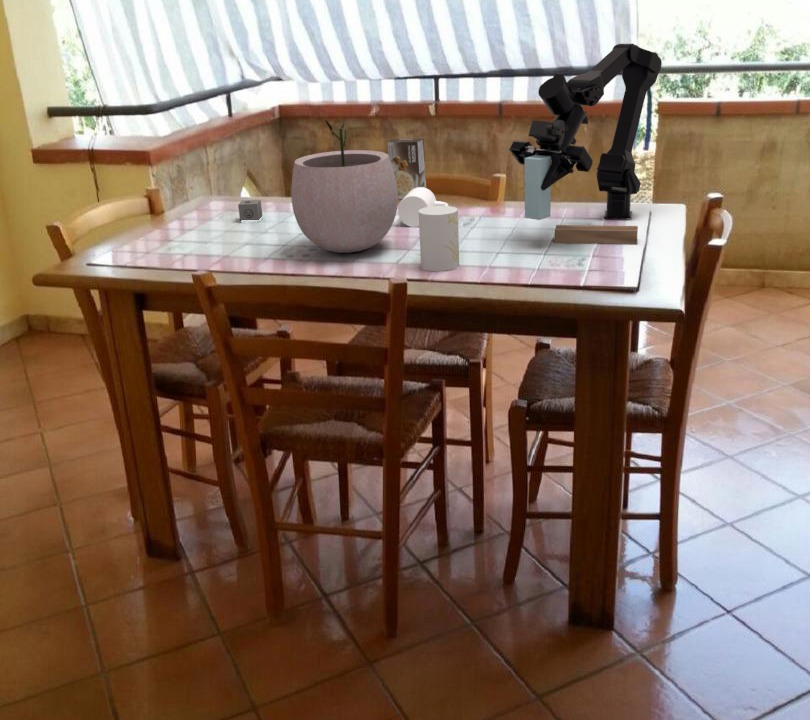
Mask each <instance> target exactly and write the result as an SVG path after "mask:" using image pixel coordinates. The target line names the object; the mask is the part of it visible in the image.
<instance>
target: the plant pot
mask: <svg viewBox="0 0 810 720" xmlns="http://www.w3.org/2000/svg"><path fill="white" fill-rule="evenodd" d="M345 118H346V117H344V118H343V122H342V124H341V126H340V128H339V129H338V130H339V136H338V135H337V134H336V133H335V131H334V130H333V126H332V125H331V124H330V123H329V122H328V120H327V119H325V122H326V125H327V127H328V129H329V131H330V132H331V134H332V136H333V138H335V137H336V138H337V139H338V140H339V144H340V150H334V151H325V152H319V153H313V154H309V155H305V156H302V157H299V158H297V159H295V160H294V165H293V169H292V175H291V177H292V180H291V189H290V190H291V191H290V192H291V206H292V211H293V214H294V218H295V221H296V223H297V224H298V225H297V226H298V227H299V228H300V231H301V232H302V234H303V235H304V236H305V237H306V238H307V239H308V240H309V241H310V242H311V243H313V244H314V245H315V246H316V247H319V248H321V249H323V250H326V251H329V252H334V253H341V254H343V253H345V254H346V253H347V254H350V253H356V252H357V253H358V252H362V251H365V250H366V249H367V250H368V249H369V248H371V247H373V246H375V245H377V244H378V243H379V242H380V241H382V240H383V239H384V238H385V237H386V235H387V234H388V233H389V231H390V229H391V228H392V226H393V224H394V221H395V219H396V216H397V213H398V207H399V199H398V189H397V183H396V178H395V174H394V171H393V167H392V164H391V161H390V158H389V155H388V153H386V152H384V151H377V150H367V149H366V150H365V149H364V150H362V149H356V150H355V149H353V150H351V149H349V150H344V149H345V147H346V139H347V132H346V130H344V134H343V128H344V127H345V124H346V123H345ZM343 135H344V136H343ZM343 138H344V139H343Z"/></svg>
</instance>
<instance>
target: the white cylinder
mask: <svg viewBox="0 0 810 720" xmlns="http://www.w3.org/2000/svg"><path fill="white" fill-rule="evenodd" d="M418 228H419V229H418V230H419V231H418V232H419V247H420V248H419V252H420V254H419V255H420V268H421V269H422V270H424V271H426V270H429V271H428V272H432V271H443V272H447V271H446V270H450V271H452V270H451V269H454V270H456V269H458V268H460V245H459V244H460V243H459V242H460V240H459V238H460V237H459V210H458V208H457V207H455V206H452V205H449V206H430V207H425V208H422V209H420V210H419V227H418ZM457 267H458V268H457ZM455 268H456V269H455Z"/></svg>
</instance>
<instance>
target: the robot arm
mask: <svg viewBox="0 0 810 720" xmlns="http://www.w3.org/2000/svg"><path fill="white" fill-rule="evenodd" d="M662 65H663V64H662V59H661V57H660V56H659V54H658V53H657V52H656V51H655V52H654V51H650V50H648V49H645V48H643V47H639V46H638V45H637V44H634V43H618V44H616V45H614V46H613V48H612V50H611V51H610V52H609V53H608V54H606V55H605V56H604V57H603V58H602V59H601V60H600V61H599V62H597V63H596V65H594V66H593V67H592V68H591V69H590V70H589V71H587V72H584V73H580V74H577V75H575V76H573V77H572V78H569V80H568V81H567V79H566V77H565V75H564V73H554V75H553V77H551V78H549V79H547V80H546V81H545V82H543V83H542V84H540V86H539V88H538V91H537V92H538V96H539V97H540V99H541V101H542V102H543V103H544V105H545V107H546V108H547V110H548V111H549V113H550V114H552V115H554V116H555V117H554V119H553V120H552V121H545V120H532V121H531V122H530V127H529V131H528V134H527V135H528V137H533V139H536V140H535V143H536V145H537V146H539V148H537V147H536V146H533V145H532V143H531V142H530V141H525V140H514V141H512V144H510V147H509V151H510V153H511V154H512V156H513V157H514V158H515V160H516V161H517V162H518V163H519V164H520V165H523V166H525V158H527V157H530V156H534V155H541V156H551V166H550V168H549V170H548V172H547V174H546V176H545V178H544V180H543V183H542V185H541V189H542V190H543V191H544V190H546V189H547V188H548V187H550V186H552V185H553V184H556V183H557V182H558V181H560V180H561V179H562V178H564V177H565V176H566V177H567V175H569V174H573V173H574V169H573V168H574V167H575V168H576V170H577V171H578V172H586V173H589V172H590V170H591V169H592V167H593V161H594V160H593V159H592V157H591V155H590V154H589V152H588V151H587V149H586V147H585V146H583V145H576V143H577V139H576V135H577V133H578V131H579V129H580V127H581V126H582V124H583V125H588V124H589V117H588V114H587V111H586V110H584V108H583V107H595V106H596V105H597V104H598V103H599V102H600V100H601V99H602V97H603V96H604V94H605V87H606V86H607V85H608V84H609V83H610V82H611V81H612V80H613V79H615V78H616V77H617V76H618V75H619V74H620V73H621V77H622V81H623V84H624V88H625V89H624V90H625V91H624V94H623V98H622V103H621V105H620V110H619V114H618V119H617V123H616V127H615V132H614V135H613V140H612V144H611V146H610V149H609V150H608V151H607V152H606V153H605V152H602V153H601V154H600V157H599V164H598V166H597V168H596V170H597V171H596V180H597V186H598V191H599V192H606V210H605V211H604V216H603V218H604V220H605V219H609V220H613V219H614V220H615V219H616V220H617V219H618V220H619V219H620V220H624V219H625V220H631V219H632V215H633V214H632V213H633V211H632V210H631V201H632V200H631V199H632V198H631V197H632V195H636V194H638V193H639V191H640V189H641V184H642V183H641V181H640V179H639V178H638V175H637V174H636V173H635V170H636V162H635V159H634V157H633V148H634V144H635V139H636V135H637V131H638V127H639V122H640V120H641V119H640V118H641V114H642V110H643V108H644V107H643V106H644V102H645V99H646V94H647V92H648V91H649V90H650V89H651V88H652V87H653V86H654V84H655V83H656V82H657V80H658V77H659V73H660V71H661V69H662ZM523 186H524V187H525V182H524V185H523Z"/></svg>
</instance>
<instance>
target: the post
mask: <svg viewBox="0 0 810 720" xmlns="http://www.w3.org/2000/svg"><path fill="white" fill-rule="evenodd" d="M551 161H552V160H551V156H541V155H534V156H530V157H527V158H525V165H524V183H525V186H524V218H526V219H531V220H535V221H542V220H544V219H546V218H550V217H551V210H552V209H551V206H552V205H551V203H552V202H551V201H552V200H551V199H552V197H551V196H552V190H551V189H552V187H551V186H552V185H551V186H550V187H548V188H547V189H546V190H544V191H543V190H542V189H541V185H542V183H543V180H544V178H545V176H546V174H547V172H548V170H549V168H550V166H551Z"/></svg>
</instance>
